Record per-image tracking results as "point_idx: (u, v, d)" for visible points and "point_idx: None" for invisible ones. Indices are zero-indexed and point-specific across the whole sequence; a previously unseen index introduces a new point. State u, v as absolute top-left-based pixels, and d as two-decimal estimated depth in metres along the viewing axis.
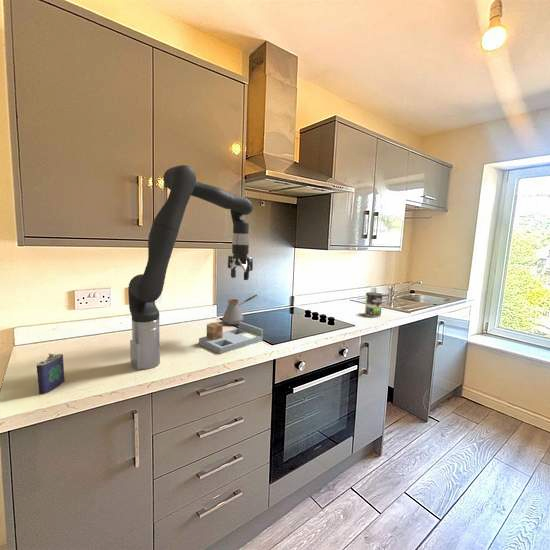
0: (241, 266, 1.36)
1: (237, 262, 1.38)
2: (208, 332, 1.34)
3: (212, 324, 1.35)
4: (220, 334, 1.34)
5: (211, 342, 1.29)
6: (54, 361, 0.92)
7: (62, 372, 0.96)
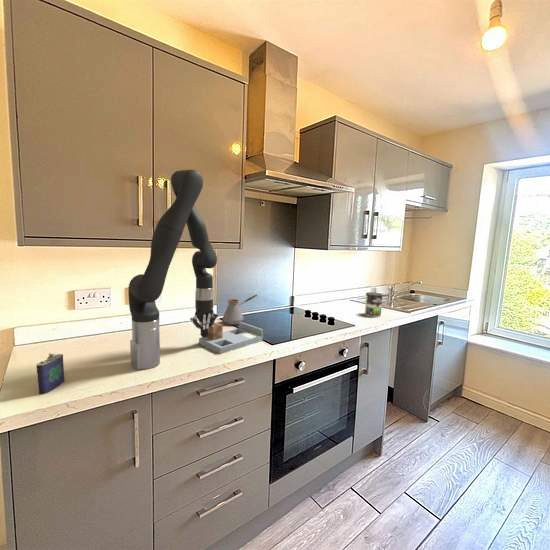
0: (207, 322, 1.30)
1: (206, 316, 1.30)
2: (208, 332, 1.34)
3: None
4: (220, 334, 1.35)
5: (211, 342, 1.29)
6: (54, 361, 0.92)
7: (62, 372, 0.96)
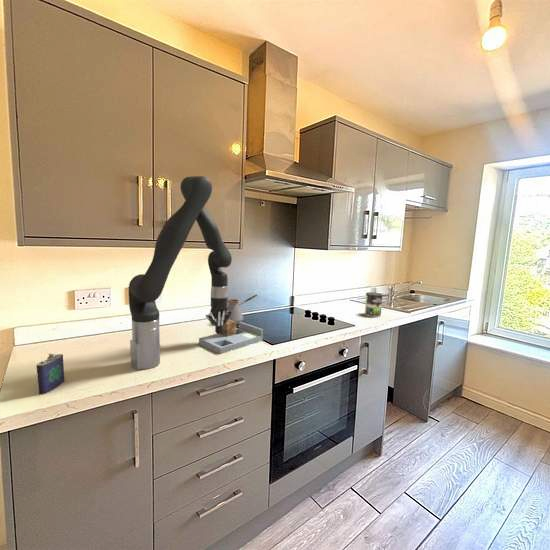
0: (222, 319, 1.35)
1: (220, 313, 1.35)
2: (222, 329, 1.40)
3: None
4: (234, 331, 1.40)
5: (211, 342, 1.29)
6: (54, 361, 0.92)
7: (62, 372, 0.96)
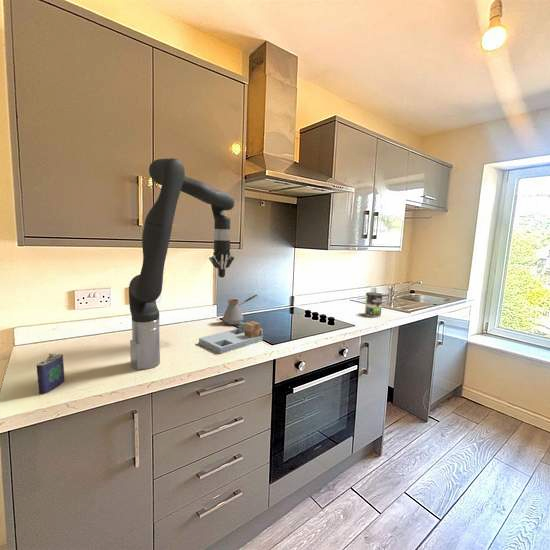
0: (225, 262, 1.38)
1: (223, 256, 1.38)
2: (246, 330, 1.38)
3: (249, 322, 1.40)
4: (257, 332, 1.39)
5: (211, 342, 1.29)
6: (54, 361, 0.92)
7: (62, 372, 0.96)
